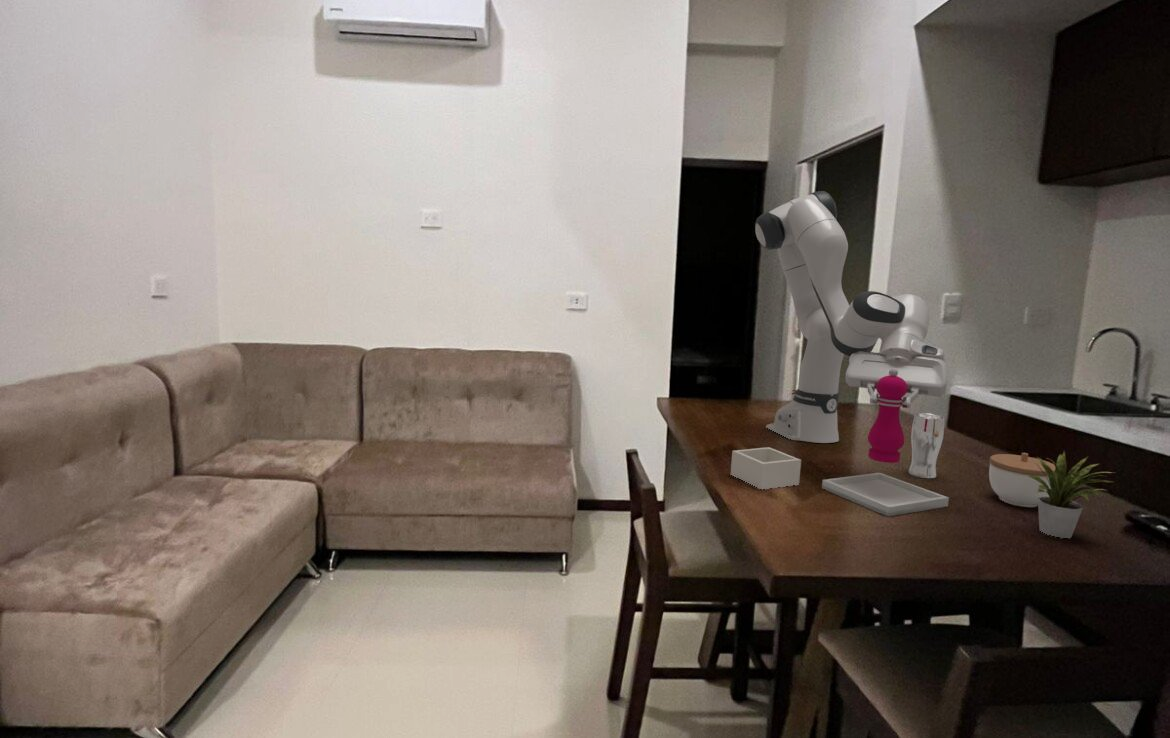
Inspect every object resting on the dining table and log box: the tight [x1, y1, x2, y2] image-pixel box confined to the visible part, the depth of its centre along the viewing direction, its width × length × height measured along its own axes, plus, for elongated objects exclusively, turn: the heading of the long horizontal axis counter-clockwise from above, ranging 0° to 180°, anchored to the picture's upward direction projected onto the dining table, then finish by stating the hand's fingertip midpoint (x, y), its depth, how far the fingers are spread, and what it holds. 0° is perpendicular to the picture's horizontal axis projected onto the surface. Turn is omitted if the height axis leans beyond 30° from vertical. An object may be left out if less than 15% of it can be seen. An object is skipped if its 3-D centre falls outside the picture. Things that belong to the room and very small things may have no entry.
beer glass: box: [908, 412, 945, 479], centre depth 160 cm, size 7×7×15 cm
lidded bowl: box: [988, 452, 1055, 508], centre depth 143 cm, size 13×13×11 cm
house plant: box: [1027, 450, 1115, 539], centre depth 124 cm, size 14×14×16 cm
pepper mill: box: [867, 369, 907, 464], centre depth 140 cm, size 7×7×20 cm
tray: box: [821, 472, 950, 518], centre depth 143 cm, size 18×18×2 cm
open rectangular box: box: [730, 446, 802, 491], centre depth 151 cm, size 11×11×6 cm
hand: (889, 404), depth 139 cm, fingers closed on pepper mill, 5 cm apart
